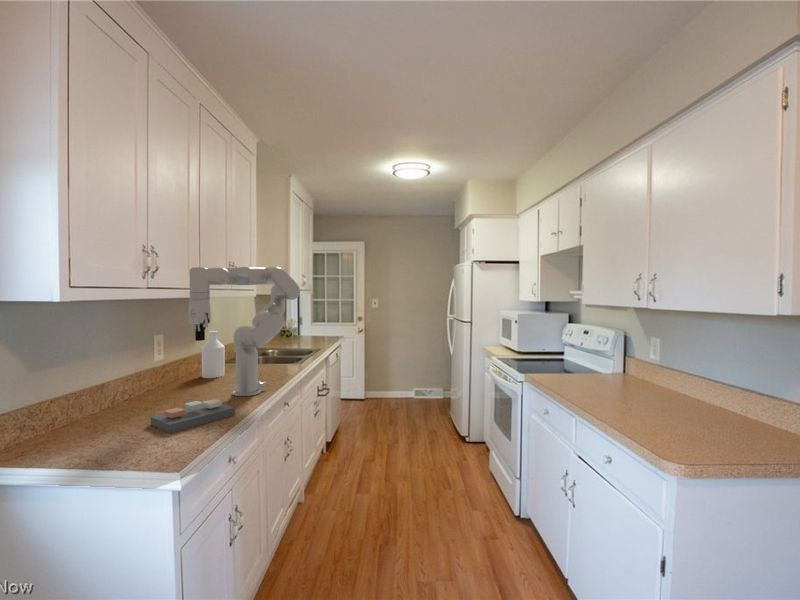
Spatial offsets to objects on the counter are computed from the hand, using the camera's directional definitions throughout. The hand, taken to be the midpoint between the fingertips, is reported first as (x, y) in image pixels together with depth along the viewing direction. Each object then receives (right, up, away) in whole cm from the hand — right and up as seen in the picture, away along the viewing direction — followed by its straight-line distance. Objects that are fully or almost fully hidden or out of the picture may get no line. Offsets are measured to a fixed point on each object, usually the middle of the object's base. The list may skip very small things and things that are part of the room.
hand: (200, 340), depth 167 cm
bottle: (-20, -26, +55) cm, 64 cm away
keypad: (+8, -28, -19) cm, 35 cm away
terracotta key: (+4, -24, -25) cm, 35 cm away
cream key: (+12, -24, -14) cm, 30 cm away
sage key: (+8, -23, -20) cm, 31 cm away
